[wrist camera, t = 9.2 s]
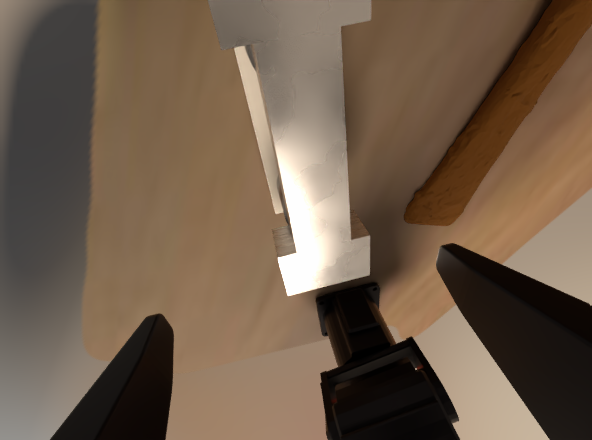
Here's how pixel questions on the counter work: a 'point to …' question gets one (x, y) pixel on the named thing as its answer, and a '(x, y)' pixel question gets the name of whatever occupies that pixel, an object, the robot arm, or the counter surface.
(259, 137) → the peg rack
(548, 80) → the primitive tool
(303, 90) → the spanner
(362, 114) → the counter surface
